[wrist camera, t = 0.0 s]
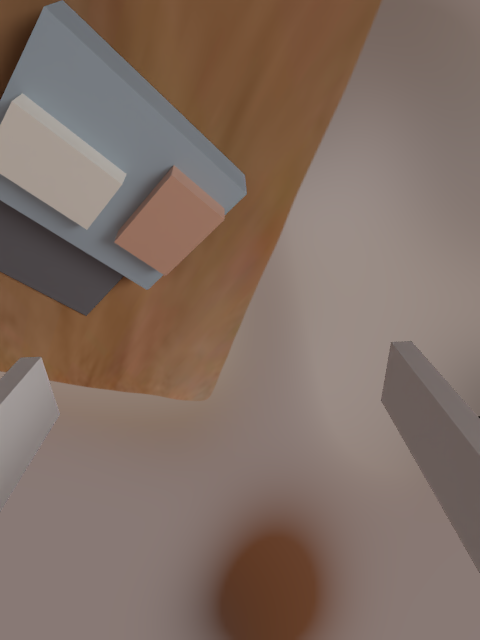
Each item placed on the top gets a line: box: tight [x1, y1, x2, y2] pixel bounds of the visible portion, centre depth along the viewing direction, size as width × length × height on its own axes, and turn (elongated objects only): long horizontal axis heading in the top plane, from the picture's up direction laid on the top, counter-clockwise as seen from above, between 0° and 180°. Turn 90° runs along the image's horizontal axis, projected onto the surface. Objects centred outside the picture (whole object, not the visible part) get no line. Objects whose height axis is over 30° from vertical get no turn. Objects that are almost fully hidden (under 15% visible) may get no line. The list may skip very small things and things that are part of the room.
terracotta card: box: [114, 165, 225, 276], centre depth 35 cm, size 9×6×2 cm, turn 136°
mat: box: [0, 200, 124, 316], centre depth 42 cm, size 12×16×1 cm
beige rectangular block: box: [0, 93, 126, 230], centre depth 31 cm, size 6×9×2 cm, turn 46°
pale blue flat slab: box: [0, 0, 247, 290], centre depth 34 cm, size 16×19×4 cm
